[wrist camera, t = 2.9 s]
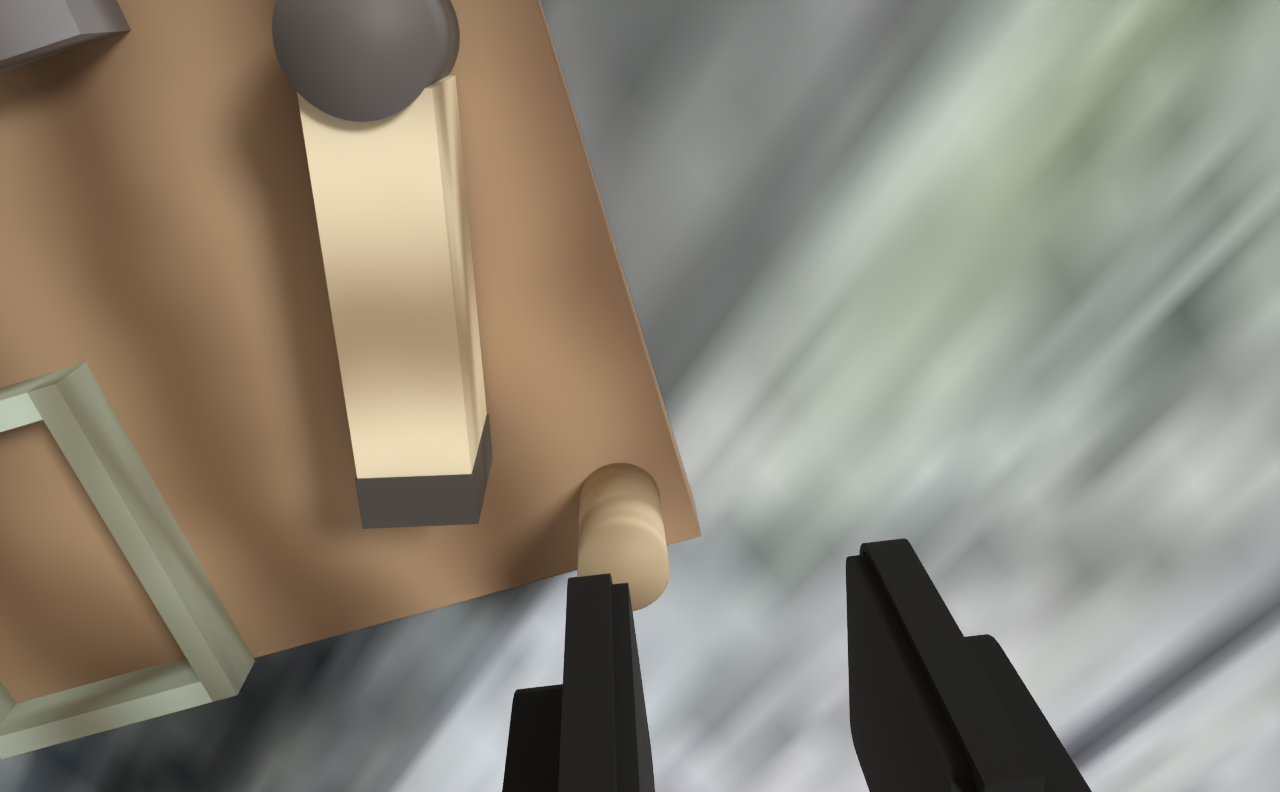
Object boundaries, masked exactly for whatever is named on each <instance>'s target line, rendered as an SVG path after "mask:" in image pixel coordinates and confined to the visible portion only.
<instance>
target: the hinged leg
mask: <svg viewBox="0 0 1280 792" xmlns="http://www.w3.org/2000/svg"><path fill="white" fill-rule="evenodd" d="M272 37H273V44H274V49H275V53H276V56H277V59H278V61H279V64H280V66H281V68H282V70H283V72H284V74H285V76H286V77H287V79H288V80H289V82H290V83H291V85H292V86H293V87H294V88H295V90H296V91H297V95H298V102H299V108H300V114H301V121H302V127H303V134H304V140H305V147H306V153H307V159H308V166H309V172H310V179H311V185H312V191H313V198H314V204H315V211H316V217H317V223H318V230H319V236H320V243H321V249H322V255H323V262H324V268H325V275H326V281H327V288H328V294H329V300H330V307H331V313H332V320H333V326H334V332H335V339H336V345H337V352H338V358H339V364H340V371H341V377H342V384H343V390H344V396H345V403H346V409H347V416H348V422H349V429H350V435H351V441H352V448H353V454H354V461H355V467H356V473H357V476H356V478H355V484H356V490H357V497H358V503H359V510H360V516H361V522H362V529H372V528H396V527H420V526H444V525H469V524H478V523H479V519H480V514H481V510H482V505H483V501H484V496H485V492H486V487H487V482H488V478H489V473H490V469H491V464H492V460H493V455H492V444H491V433H490V422H489V414H487V411H486V401H485V390H484V379H483V368H482V358H481V347H480V336H479V325H478V314H477V304H476V293H475V282H474V271H473V260H472V250H471V239H470V228H469V217H468V207H467V196H466V185H465V174H464V163H463V153H462V142H461V131H460V120H459V110H458V99H457V88H456V77H455V75H450V73H451V71H452V69H453V67H454V65H455V62H456V60H457V56H458V52H459V44H460V30H459V24H458V19H457V16H456V12H455V10H454V7H453V5H452V3H451V1H450V0H276V3H275V6H274V10H273V17H272Z"/></svg>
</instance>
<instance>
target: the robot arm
mask: <svg viewBox="0 0 1280 792" xmlns="http://www.w3.org/2000/svg"><path fill="white" fill-rule="evenodd" d="M846 591H847V629H848V666H849V703H850V726H851V733H852V739H853V743H854V747H855V750H856V754H857V756H858V759H859V762H860V765H861V768H862V771H863V774H864V777H865V779H866V782H867V785H868V788H869V791H870V792H1092V791H1091V790H1090V788H1089V787H1088V785H1087V783H1086V782H1085V780H1084V779H1083V777H1082V775H1081V774H1080V772H1079V771H1078V769H1077V767H1076V766H1075V764H1074V763H1073V761H1072V759H1071V758H1070V756H1069V755H1068V753H1067V751H1066V750H1065V748H1064V747H1063V745H1062V743H1061V742H1060V740H1059V739H1058V737H1057V735H1056V734H1055V732H1054V731H1053V729H1052V727H1051V726H1050V724H1049V723H1048V721H1047V719H1046V718H1045V716H1044V715H1043V713H1042V712H1041V710H1040V708H1039V707H1038V705H1037V704H1036V702H1035V700H1034V699H1033V697H1032V696H1031V694H1030V692H1029V691H1028V689H1027V688H1026V686H1025V684H1024V683H1023V681H1022V680H1021V678H1020V676H1019V675H1018V673H1017V672H1016V670H1015V668H1014V667H1013V665H1012V664H1011V662H1010V660H1009V659H1008V657H1007V656H1006V654H1005V652H1004V651H1003V649H1002V648H1001V646H1000V645H999V643H998V642H997V641H996V640H995V638H994V637H992V636H990V635H988V634H986V635H977V636H969V637H964V636H963V634H962V632H961V631H960V629H959V627H958V626H957V624H956V622H955V620H954V619H953V617H952V615H951V613H950V612H949V610H948V608H947V607H946V605H945V603H944V601H943V600H942V598H941V596H940V594H939V593H938V591H937V589H936V588H935V586H934V584H933V582H932V581H931V579H930V577H929V575H928V574H927V572H926V570H925V569H924V567H923V565H922V563H921V562H920V560H919V558H918V556H917V555H916V553H915V551H914V549H913V548H912V546H911V544H910V543H909V542H908V540H907V539H896V540H887V541H879V542H870V543H862V545H861V547H860V555H857V556H849V557H847V559H846ZM502 792H655V787H654V774H653V763H652V754H651V746H650V738H649V731H648V723H647V716H646V708H645V701H644V694H643V686H642V679H641V671H640V664H639V656H638V649H637V642H636V634H635V627H634V619H633V612H632V605H631V597H630V590H629V584H628V583H620V584H613V583H612V577H611V574H610V573H607V574H598V575H590V576H581V577H573V578H569V579H568V585H567V607H566V629H565V651H564V674H563V684H561V685H552V686H544V687H535V688H527V689H518V690H516V692H515V693H514V698H513V704H512V712H511V721H510V730H509V738H508V747H507V756H506V764H505V773H504V782H503V790H502Z"/></svg>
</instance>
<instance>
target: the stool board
mask: <svg viewBox="0 0 1280 792" xmlns="http://www.w3.org/2000/svg"><path fill="white" fill-rule="evenodd" d="M450 1H451V3H452V5H453V7H454V10H455V12H456V16H457V19H458V24H459V30H460V44H459V52H458V56H457V60H456V62H455V65H454V67H453V69H452V71H451V73H450V75H455V77H456V88H457V99H458V110H459V120H460V131H461V142H462V153H463V163H464V174H465V185H466V196H467V207H468V217H469V228H470V239H471V250H472V260H473V271H474V282H475V293H476V304H477V314H478V325H479V336H480V347H481V358H482V368H483V379H484V390H485V401H486V411H487V414H489V422H490V433H491V444H492V455H493V460H492V464H491V469H490V473H489V478H488V482H487V487H486V492H485V496H484V501H483V505H482V510H481V514H480V519H479V523H478V524H469V525H444V526H420V527H396V528H372V529H362V522H361V516H360V510H359V503H358V497H357V490H356V484H355V478H356V476H357V473H356V467H355V461H354V454H353V448H352V441H351V435H350V429H349V422H348V416H347V409H346V403H345V396H344V390H343V384H342V377H341V371H340V364H339V358H338V352H337V345H336V339H335V332H334V326H333V320H332V313H331V307H330V300H329V294H328V288H327V281H326V275H325V268H324V262H323V255H322V249H321V243H320V236H319V230H318V223H317V217H316V211H315V204H314V198H313V191H312V185H311V179H310V172H309V166H308V159H307V153H306V147H305V140H304V134H303V127H302V121H301V114H300V108H299V102H298V95H297V91H296V90H295V88H294V87H293V86H292V85H291V83H290V82H289V80H288V79H287V77H286V76H285V74H284V72H283V70H282V68H281V66H280V64H279V61H278V59H277V56H276V53H275V49H274V44H273V37H272V17H273V10H274V6H275V3H276V0H0V759H4V758H8V757H11V756H15V755H19V754H22V753H26V752H30V751H34V750H37V749H41V748H45V747H48V746H52V745H56V744H59V743H63V742H67V741H70V740H74V739H78V738H81V737H85V736H89V735H93V734H96V733H100V732H104V731H107V730H111V729H115V728H118V727H122V726H126V725H129V724H133V723H137V722H140V721H144V720H148V719H152V718H155V717H159V716H163V715H166V714H170V713H174V712H177V711H181V710H185V709H188V708H192V707H196V706H199V705H203V704H207V703H211V702H214V701H218V700H222V699H225V698H229V697H233V696H236V695H238V693H239V691H240V689H241V687H242V685H243V683H244V681H245V680H246V678H247V676H248V674H249V672H250V670H251V668H252V666H253V664H254V662H255V660H254V658H257V657H261V656H264V655H268V654H271V653H275V652H279V651H282V650H286V649H290V648H293V647H297V646H301V645H304V644H308V643H312V642H315V641H319V640H323V639H326V638H330V637H334V636H337V635H341V634H345V633H348V632H352V631H356V630H359V629H363V628H366V627H370V626H374V625H377V624H381V623H385V622H388V621H392V620H396V619H399V618H403V617H407V616H410V615H414V614H418V613H421V612H425V611H429V610H432V609H436V608H440V607H443V606H447V605H451V604H454V603H458V602H461V601H465V600H469V599H472V598H476V597H480V596H483V595H487V594H491V593H494V592H498V591H502V590H505V589H509V588H513V587H516V586H520V585H524V584H527V583H531V582H535V581H538V580H542V579H546V578H549V577H553V576H556V575H560V574H564V573H567V572H571V571H575V570H578V571H577V577H581V576H590V575H598V574H607V573H610V574H611V577H612V583H613V584H620V583H628V584H629V590H630V597H631V605H632V611H636V610H639V609H642V608H644V607H646V606H648V605H650V604H652V603H653V602H654V601H656V600H657V599H658V598H659V597H660V596H661V594H662V593H663V592H664V590H665V588H666V586H667V584H668V580H669V574H670V570H669V562H668V554H667V546H666V545H670V544H673V543H677V542H681V541H684V540H688V539H692V538H695V537H699V536H701V533H700V528H699V523H698V518H697V513H696V508H695V503H694V500H693V496H692V493H691V490H690V487H689V483H688V480H687V477H686V474H685V470H684V467H683V464H682V461H681V457H680V454H679V451H678V448H677V444H676V441H675V438H674V435H673V431H672V428H671V425H670V422H669V418H668V415H667V412H666V408H665V405H664V402H663V399H662V395H661V392H660V389H659V386H658V382H657V379H656V376H655V373H654V369H653V366H652V363H651V360H650V356H649V353H648V350H647V347H646V343H645V340H644V337H643V334H642V330H641V327H640V324H639V321H638V317H637V314H636V311H635V308H634V304H633V301H632V298H631V295H630V291H629V288H628V285H627V282H626V278H625V275H624V272H623V268H622V265H621V262H620V259H619V255H618V252H617V249H616V246H615V242H614V239H613V236H612V233H611V229H610V226H609V223H608V220H607V216H606V213H605V210H604V207H603V203H602V200H601V197H600V194H599V190H598V187H597V184H596V181H595V177H594V174H593V171H592V168H591V164H590V161H589V158H588V155H587V151H586V148H585V145H584V142H583V138H582V135H581V132H580V128H579V125H578V122H577V119H576V115H575V112H574V109H573V106H572V102H571V99H570V96H569V93H568V89H567V86H566V83H565V80H564V76H563V73H562V70H561V67H560V63H559V60H558V57H557V54H556V50H555V47H554V44H553V41H552V37H551V34H550V31H549V28H548V24H547V21H546V18H545V15H544V11H543V8H542V5H541V1H540V0H450Z"/></svg>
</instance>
